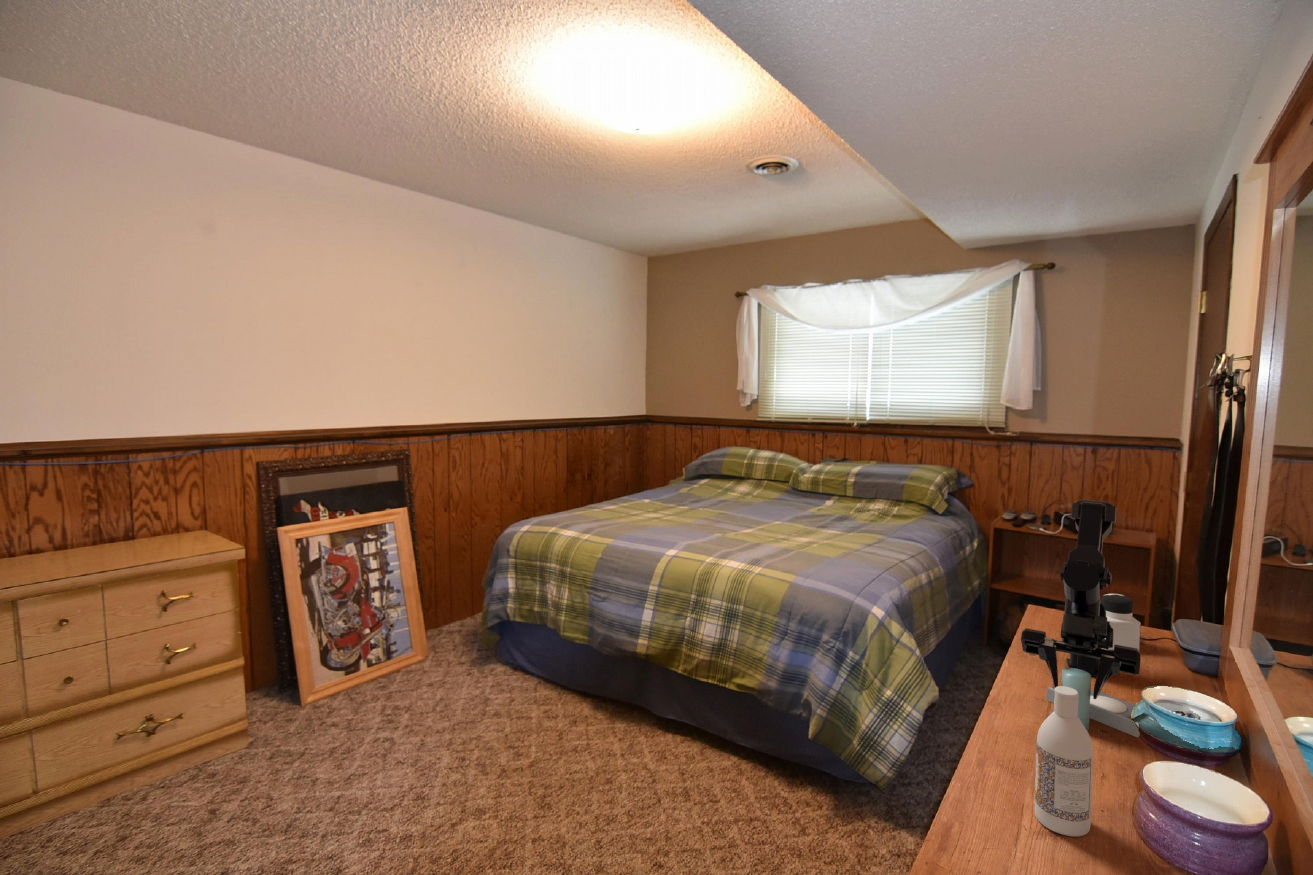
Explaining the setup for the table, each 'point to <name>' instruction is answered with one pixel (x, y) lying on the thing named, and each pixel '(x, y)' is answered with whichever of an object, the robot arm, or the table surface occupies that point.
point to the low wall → (1105, 717)
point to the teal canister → (1079, 691)
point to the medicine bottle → (1122, 620)
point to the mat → (1112, 704)
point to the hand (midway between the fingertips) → (1075, 693)
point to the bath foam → (1064, 768)
